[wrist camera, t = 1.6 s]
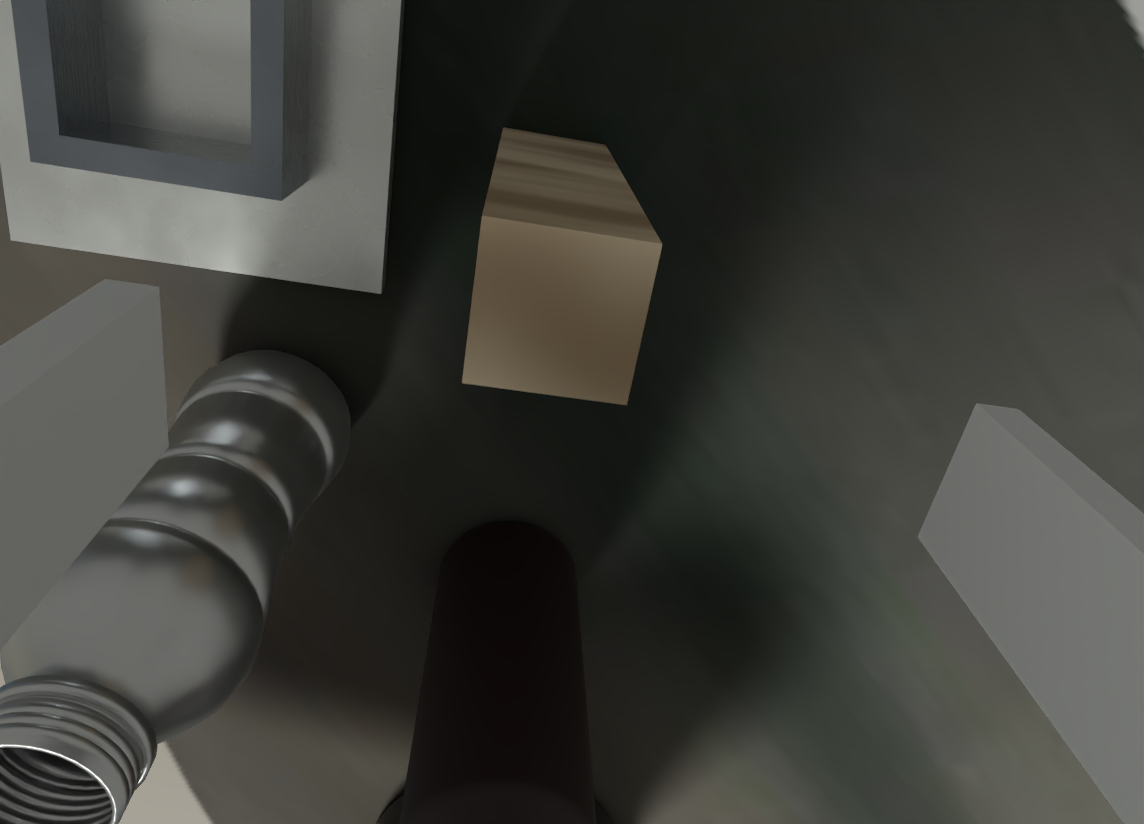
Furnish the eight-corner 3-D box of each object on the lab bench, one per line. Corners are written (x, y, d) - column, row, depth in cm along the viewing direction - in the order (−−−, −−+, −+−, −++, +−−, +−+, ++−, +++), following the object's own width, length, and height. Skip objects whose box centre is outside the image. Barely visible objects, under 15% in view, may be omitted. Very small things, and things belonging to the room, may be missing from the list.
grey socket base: (385, 286, 33) (365, 324, 29) (25, 233, 32) (-49, 266, 28) (417, -179, 26) (397, -214, 22) (-40, -277, 25) (-151, -333, 21)
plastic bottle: (319, 491, 37) (127, 927, 20) (180, 419, 35) (-176, 831, 18) (388, 386, 35) (242, 771, 17) (244, 303, 33) (-88, 640, 15)
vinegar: (419, 537, 39) (325, 985, 21) (554, 502, 38) (574, 930, 20) (465, 640, 42) (417, 1108, 24) (591, 608, 41) (637, 1063, 23)
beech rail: (587, 245, 33) (627, 405, 19) (490, 230, 32) (461, 382, 19) (605, 144, 31) (662, 244, 18) (503, 127, 31) (481, 215, 17)
